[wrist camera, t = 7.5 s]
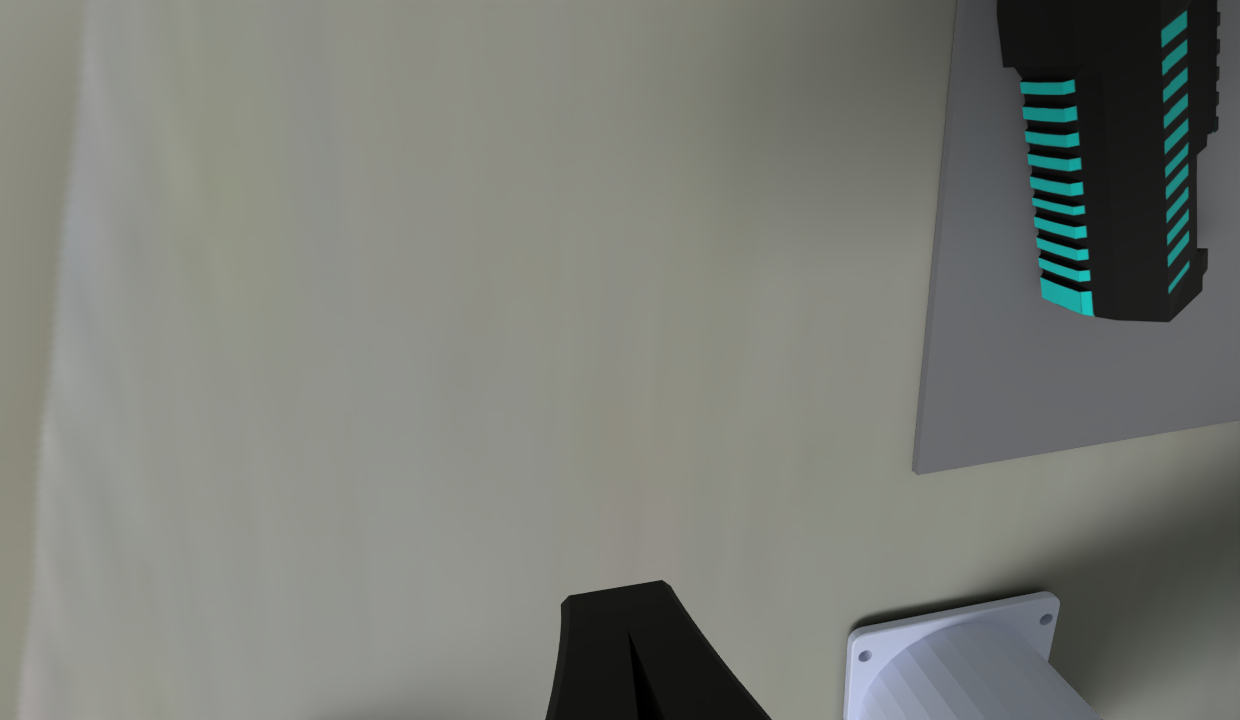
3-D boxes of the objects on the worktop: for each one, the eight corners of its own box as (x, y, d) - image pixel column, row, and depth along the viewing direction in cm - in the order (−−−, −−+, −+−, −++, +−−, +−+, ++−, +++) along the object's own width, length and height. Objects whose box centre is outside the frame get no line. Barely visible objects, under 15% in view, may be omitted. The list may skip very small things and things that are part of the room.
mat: (1287, 406, 23) (1297, 410, 23) (912, 470, 22) (917, 474, 21) (1627, -615, 14) (1650, -628, 14) (1018, -638, 12) (1030, -655, 12)
